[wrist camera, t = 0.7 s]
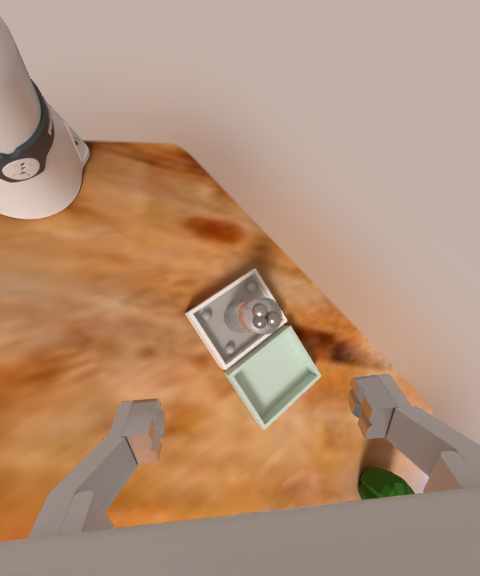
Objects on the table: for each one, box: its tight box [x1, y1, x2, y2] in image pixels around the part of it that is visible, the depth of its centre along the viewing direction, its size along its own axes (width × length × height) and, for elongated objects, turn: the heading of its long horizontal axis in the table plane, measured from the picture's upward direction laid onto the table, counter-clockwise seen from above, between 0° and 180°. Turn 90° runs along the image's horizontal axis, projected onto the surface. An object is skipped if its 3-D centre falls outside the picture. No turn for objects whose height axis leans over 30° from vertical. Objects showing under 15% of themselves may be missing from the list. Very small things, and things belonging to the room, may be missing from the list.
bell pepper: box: [359, 468, 415, 500], centre depth 51 cm, size 8×8×10 cm
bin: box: [223, 325, 321, 430], centre depth 50 cm, size 11×14×3 cm
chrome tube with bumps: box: [224, 297, 282, 334], centre depth 43 cm, size 5×5×12 cm
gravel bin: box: [185, 268, 288, 370], centre depth 48 cm, size 11×14×3 cm
